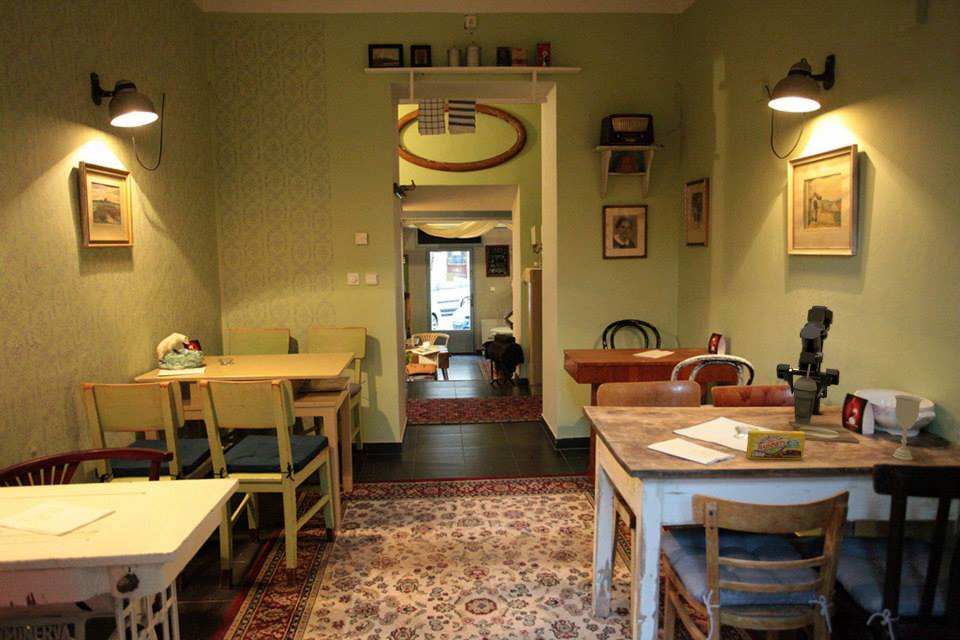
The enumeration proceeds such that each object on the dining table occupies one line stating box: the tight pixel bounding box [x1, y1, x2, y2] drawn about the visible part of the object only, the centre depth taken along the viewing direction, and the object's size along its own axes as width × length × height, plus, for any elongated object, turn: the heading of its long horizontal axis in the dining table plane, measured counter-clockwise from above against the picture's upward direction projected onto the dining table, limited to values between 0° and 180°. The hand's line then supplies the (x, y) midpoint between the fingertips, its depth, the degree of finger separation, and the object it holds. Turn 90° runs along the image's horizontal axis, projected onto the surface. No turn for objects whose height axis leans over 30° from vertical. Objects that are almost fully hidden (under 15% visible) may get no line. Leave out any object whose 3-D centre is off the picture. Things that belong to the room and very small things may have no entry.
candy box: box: [745, 430, 806, 460], centre depth 191 cm, size 16×2×8 cm, turn 90°
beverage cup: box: [793, 364, 817, 425], centre depth 215 cm, size 7×7×20 cm
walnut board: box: [788, 420, 860, 444], centre depth 218 cm, size 20×16×1 cm
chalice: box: [892, 394, 923, 461], centre depth 193 cm, size 7×7×18 cm
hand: (804, 395), depth 214 cm, fingers closed on beverage cup, 7 cm apart
